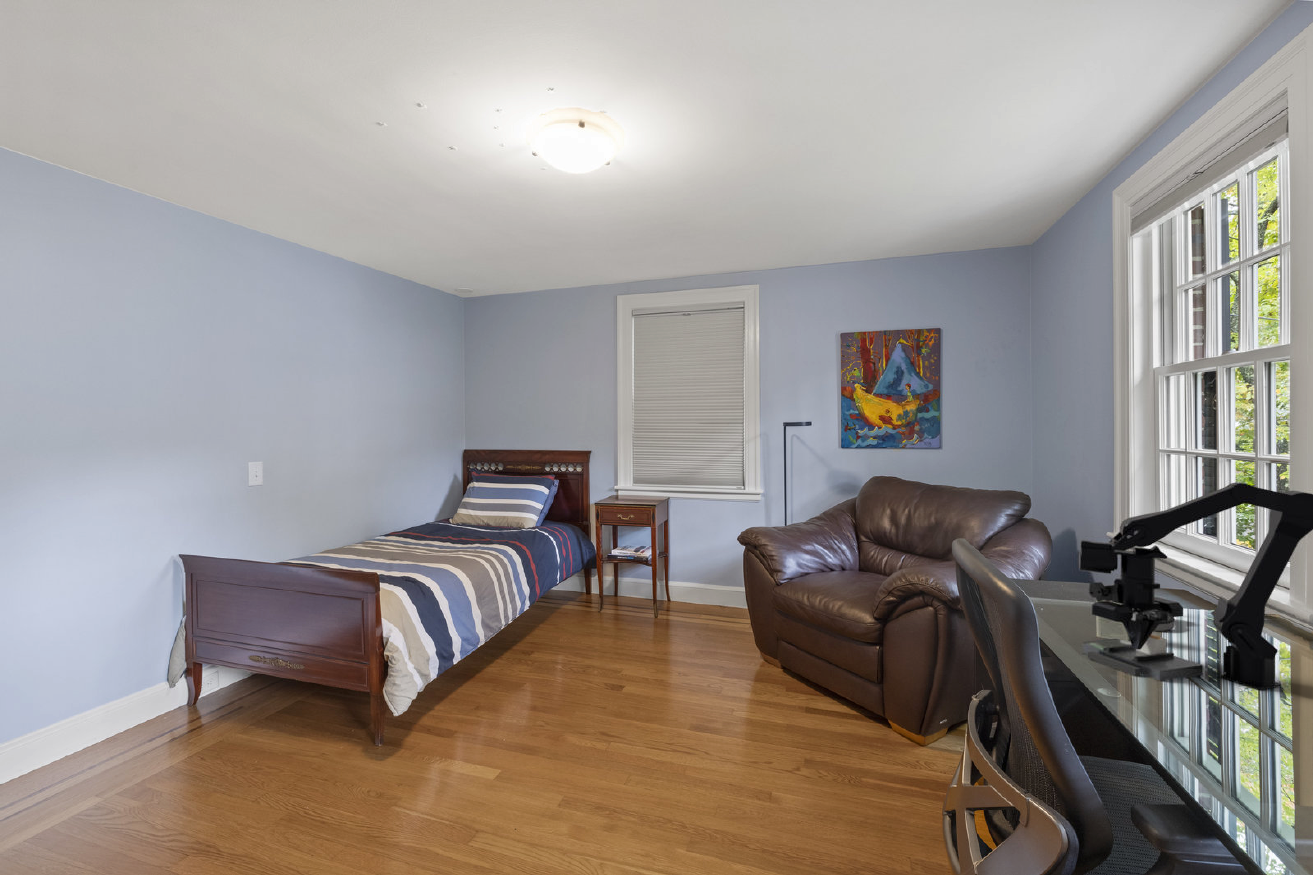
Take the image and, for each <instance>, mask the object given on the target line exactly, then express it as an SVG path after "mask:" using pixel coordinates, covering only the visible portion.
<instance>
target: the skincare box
mask: <svg viewBox="0 0 1313 875" xmlns="http://www.w3.org/2000/svg"><path fill="white" fill-rule="evenodd" d="M1102 601H1106V600H1102ZM1102 601H1099V602H1102ZM1095 602H1097V601H1096V600H1095ZM1109 602H1112V600H1111V601H1109ZM1113 603H1115V602H1113ZM1117 604H1120V605H1122V604H1121V603H1117ZM1095 616H1096V615H1095ZM1096 637H1098V638H1100V639H1101V638H1102V639H1115V638H1117V639H1123V640H1126V641H1130V639H1129V636H1128V634H1127V631H1126V629H1125V627H1124V625H1123V623H1122V622H1116V621H1112V620H1109V619H1106V618H1102V617H1099V616H1096Z"/></svg>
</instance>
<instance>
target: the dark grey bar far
mask: <svg viewBox="0 0 1313 875" xmlns="http://www.w3.org/2000/svg"><path fill="white" fill-rule="evenodd" d="M1111 640H1120V639H1117V638H1115V639H1107V638H1105V639H1099V640H1098V639H1097V640H1090V641H1083V643H1082V644H1085V643H1094V642H1103V641H1111Z"/></svg>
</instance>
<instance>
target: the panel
mask: <svg viewBox="0 0 1313 875" xmlns="http://www.w3.org/2000/svg"><path fill="white" fill-rule="evenodd" d="M1081 647H1082V649H1081V650H1082V654H1086V655H1087V654H1088V652H1092V651H1093V652H1095V653H1098V654H1101V655H1104V656H1107V657H1109V658H1112V659H1115V660H1118V661H1121V662H1123V663H1126V664H1129V665H1132V666H1134V667H1137V668H1140V675H1141V676H1142V675H1143V676H1144V677H1145V676H1146V677H1147V678H1148V677H1149V678H1151V679H1153V680H1156V681H1159V682H1160V681H1168V680H1169V681H1170V680H1175V679H1181V678H1182V679H1183V678H1189V677H1196V676H1197V677H1198V676H1203V675H1204V674H1203V672H1204V665H1203V664H1200V663H1197V662H1194V661H1191V660H1189V659H1185V658H1182V657H1180V656H1179V657H1178V656H1176V655H1175V653H1174V652H1171V651H1170V652H1166V653H1161V654H1153V655H1150V654H1147V653H1144V652H1141V651H1138V650H1136V649H1134V648H1133V647H1132V644H1131V642H1130V640H1129V641H1126V640H1123V639H1120V640H1111V641H1103V642H1094V643H1085V644H1083V643H1082V646H1081Z"/></svg>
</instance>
